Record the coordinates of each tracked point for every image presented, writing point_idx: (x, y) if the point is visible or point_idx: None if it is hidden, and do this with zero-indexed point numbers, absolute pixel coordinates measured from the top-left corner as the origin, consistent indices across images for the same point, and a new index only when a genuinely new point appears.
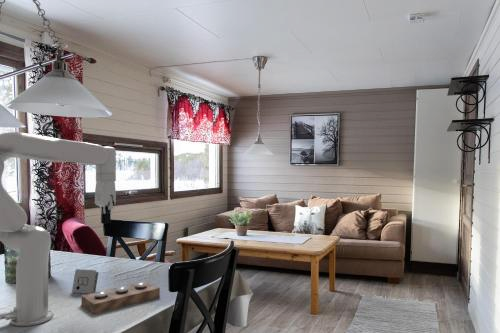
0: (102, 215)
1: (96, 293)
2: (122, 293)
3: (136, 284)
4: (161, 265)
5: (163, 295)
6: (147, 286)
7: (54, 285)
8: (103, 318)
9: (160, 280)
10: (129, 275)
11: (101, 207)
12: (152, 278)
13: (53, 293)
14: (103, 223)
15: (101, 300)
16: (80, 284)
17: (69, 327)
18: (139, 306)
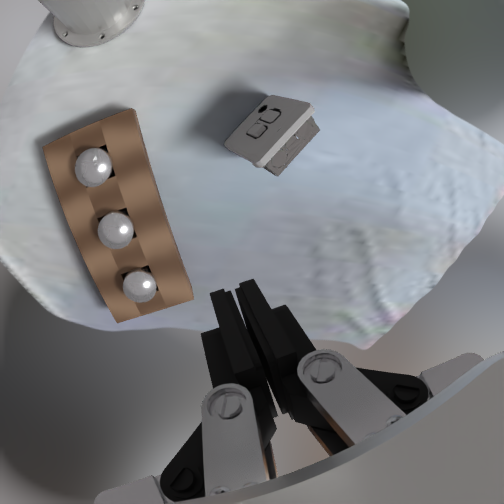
0: (236, 352)
1: (91, 153)
2: None
3: (135, 276)
4: (363, 335)
5: None
6: None
7: (357, 73)
8: (21, 168)
9: None
10: (338, 264)
11: (351, 428)
12: None
13: (288, 53)
14: (212, 298)
15: (62, 166)
16: (263, 115)
17: (7, 96)
18: (66, 256)
